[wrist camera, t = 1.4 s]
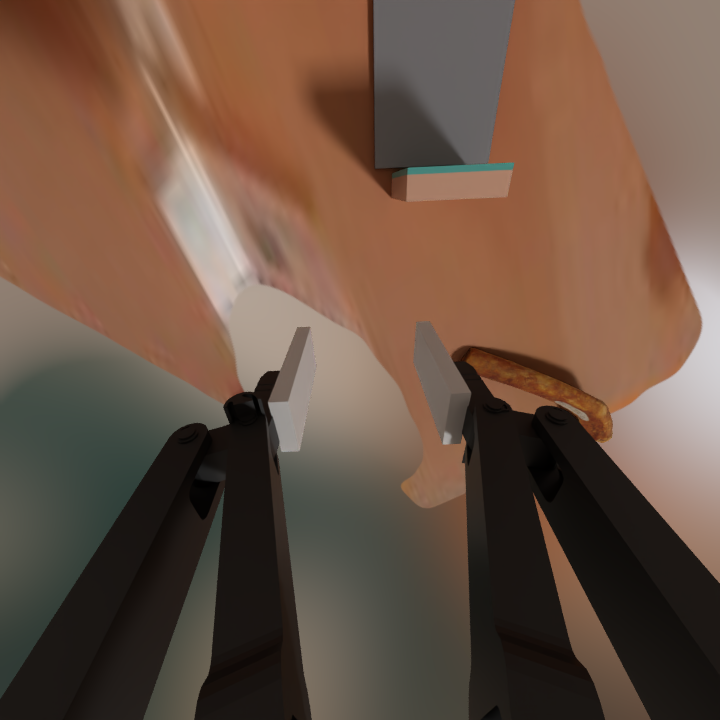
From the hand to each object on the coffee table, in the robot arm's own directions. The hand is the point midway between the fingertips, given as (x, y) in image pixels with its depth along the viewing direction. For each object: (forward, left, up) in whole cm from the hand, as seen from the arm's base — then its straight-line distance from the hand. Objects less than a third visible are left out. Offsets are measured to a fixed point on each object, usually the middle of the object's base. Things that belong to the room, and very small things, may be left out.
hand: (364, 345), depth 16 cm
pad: (+9, +16, -25) cm, 31 cm away
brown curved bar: (+32, -24, -26) cm, 47 cm away
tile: (+9, +8, -25) cm, 28 cm away
